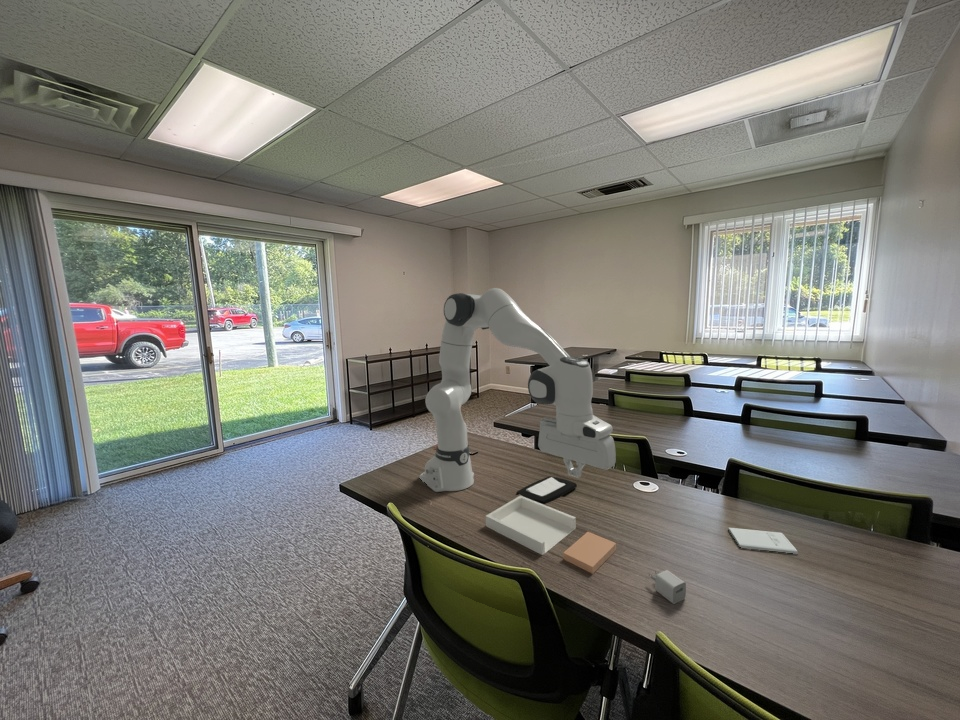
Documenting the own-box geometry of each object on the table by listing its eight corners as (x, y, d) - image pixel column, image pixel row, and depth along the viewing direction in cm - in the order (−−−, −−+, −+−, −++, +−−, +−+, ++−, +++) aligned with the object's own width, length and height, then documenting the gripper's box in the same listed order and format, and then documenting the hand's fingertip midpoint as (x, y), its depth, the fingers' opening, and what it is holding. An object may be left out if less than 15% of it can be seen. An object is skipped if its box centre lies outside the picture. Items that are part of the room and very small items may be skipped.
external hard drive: (727, 532, 103) (781, 537, 100) (739, 550, 96) (797, 556, 92) (728, 526, 103) (781, 531, 100) (739, 544, 95) (798, 550, 92)
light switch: (549, 472, 142) (580, 480, 131) (549, 479, 142) (580, 488, 132) (512, 489, 130) (542, 500, 119) (512, 497, 130) (543, 509, 119)
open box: (486, 528, 109) (485, 515, 109) (520, 507, 121) (520, 495, 120) (542, 558, 95) (542, 543, 95) (575, 530, 106) (575, 517, 106)
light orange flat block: (563, 563, 93) (563, 552, 93) (588, 541, 102) (587, 531, 101) (592, 578, 88) (592, 566, 87) (616, 554, 96) (616, 543, 96)
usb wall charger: (672, 605, 79) (672, 587, 78) (645, 584, 85) (645, 567, 84) (685, 598, 80) (685, 581, 80) (658, 578, 86) (658, 562, 86)
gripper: (532, 418, 98) (533, 468, 100) (606, 434, 84) (605, 492, 85) (547, 413, 103) (547, 461, 104) (619, 427, 88) (618, 483, 90)
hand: (574, 475), depth 95 cm, fingers closed
